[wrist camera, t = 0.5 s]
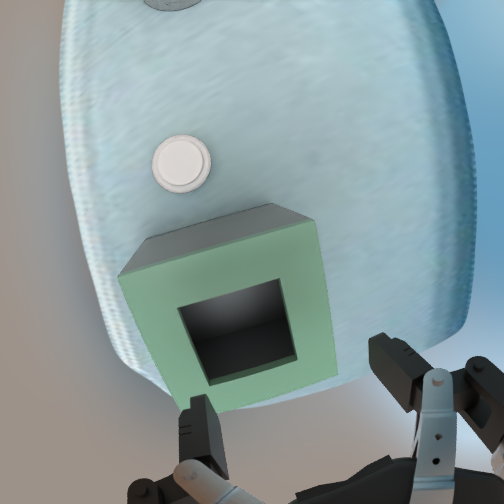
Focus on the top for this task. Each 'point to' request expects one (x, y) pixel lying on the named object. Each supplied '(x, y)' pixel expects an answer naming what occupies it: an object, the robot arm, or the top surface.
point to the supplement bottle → (181, 163)
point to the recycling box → (234, 307)
